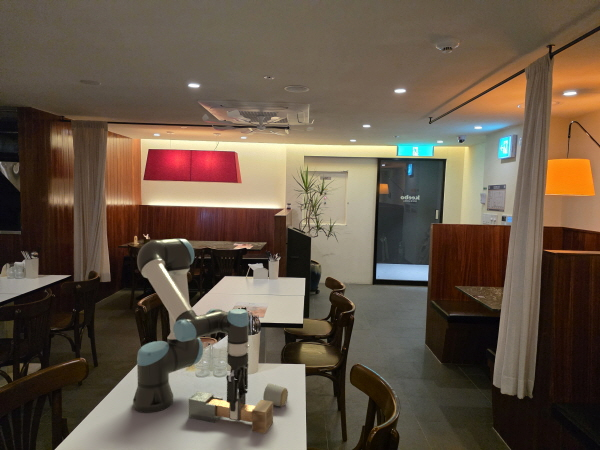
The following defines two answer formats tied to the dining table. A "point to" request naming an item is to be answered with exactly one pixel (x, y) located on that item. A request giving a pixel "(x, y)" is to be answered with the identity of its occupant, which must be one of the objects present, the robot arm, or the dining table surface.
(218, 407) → the tan wooden post
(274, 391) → the ceramic mug
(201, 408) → the sleeve
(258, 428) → the socket
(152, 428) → the dining table surface
